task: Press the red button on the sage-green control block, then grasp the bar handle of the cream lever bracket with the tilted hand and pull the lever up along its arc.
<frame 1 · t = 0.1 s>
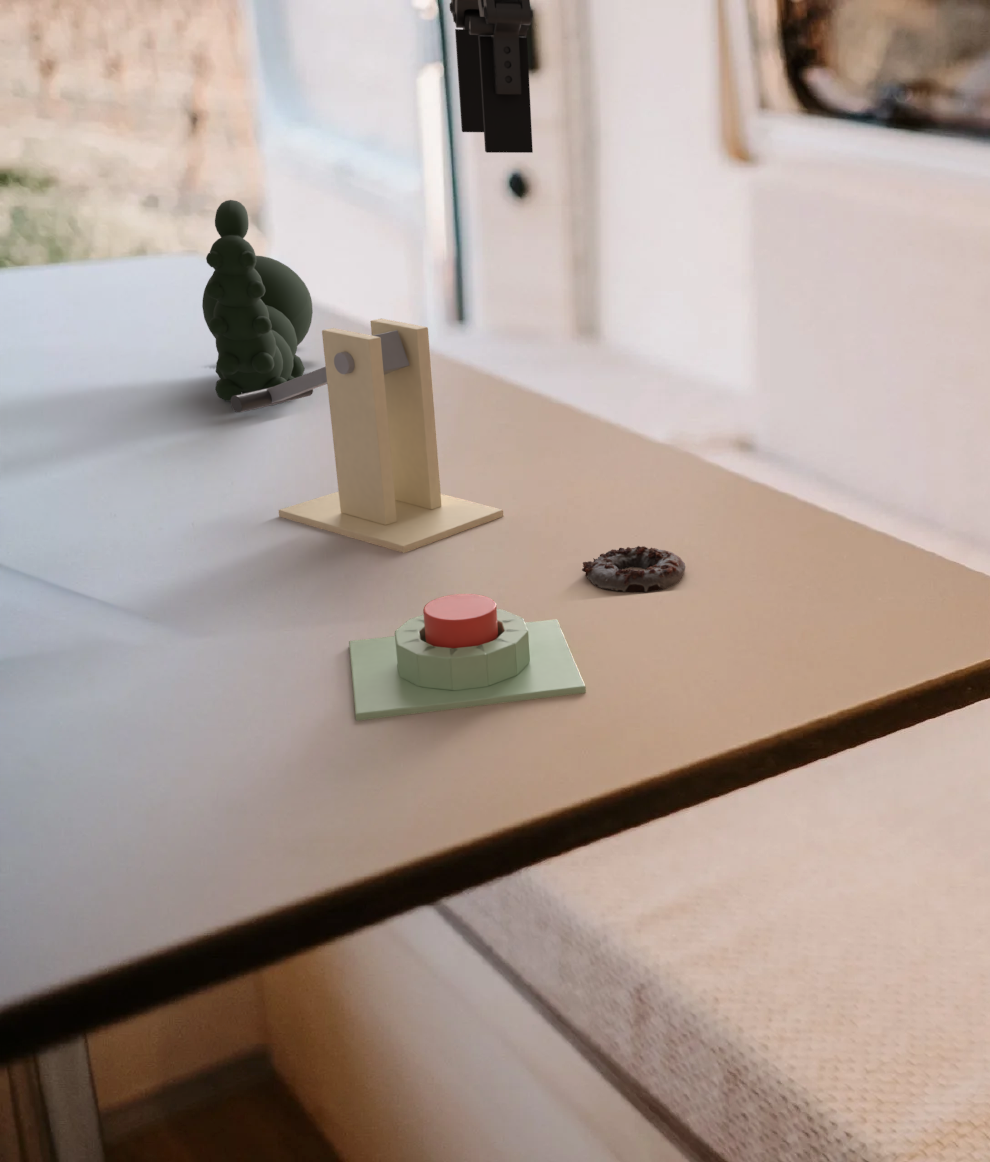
hand: (495, 142, 94), 26 cm above the table, tool pointing down, fingers open, 13 cm apart
lever: (326, 375, 99), point 10 cm above the table, hinge at -22.0°
bracket: (393, 527, 100), on the table
donut: (641, 591, 92), on the table
button: (461, 622, 75), point 4 cm above the table, slide at 0.1 cm
toy figurine: (262, 390, 134), on the table
button block: (466, 700, 76), on the table
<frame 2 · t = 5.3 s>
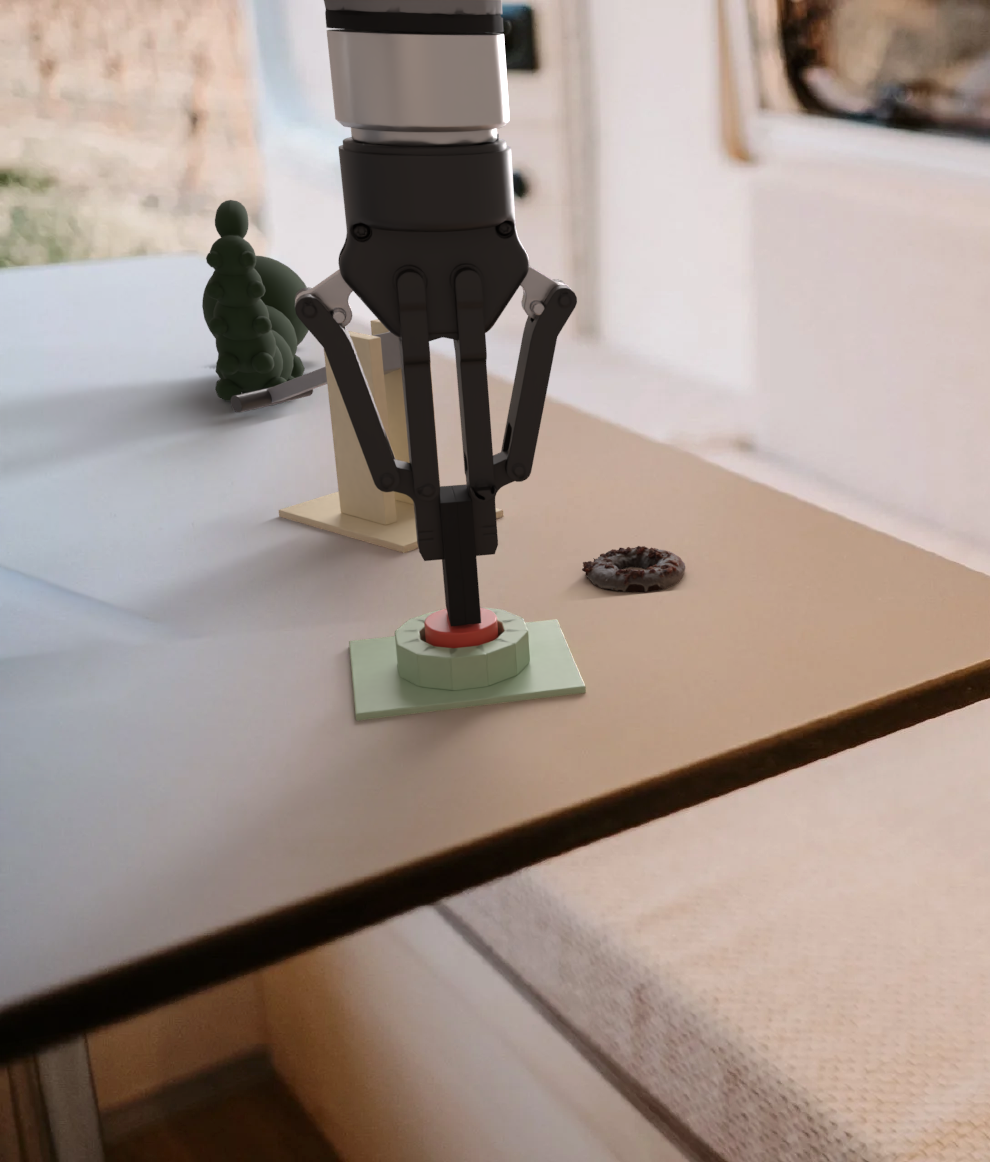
hand: (463, 614, 75), 5 cm above the table, tool pointing down, fingers closed
button: (462, 634, 75), point 4 cm above the table, slide at -0.6 cm, touching gripper
everything else where it was.
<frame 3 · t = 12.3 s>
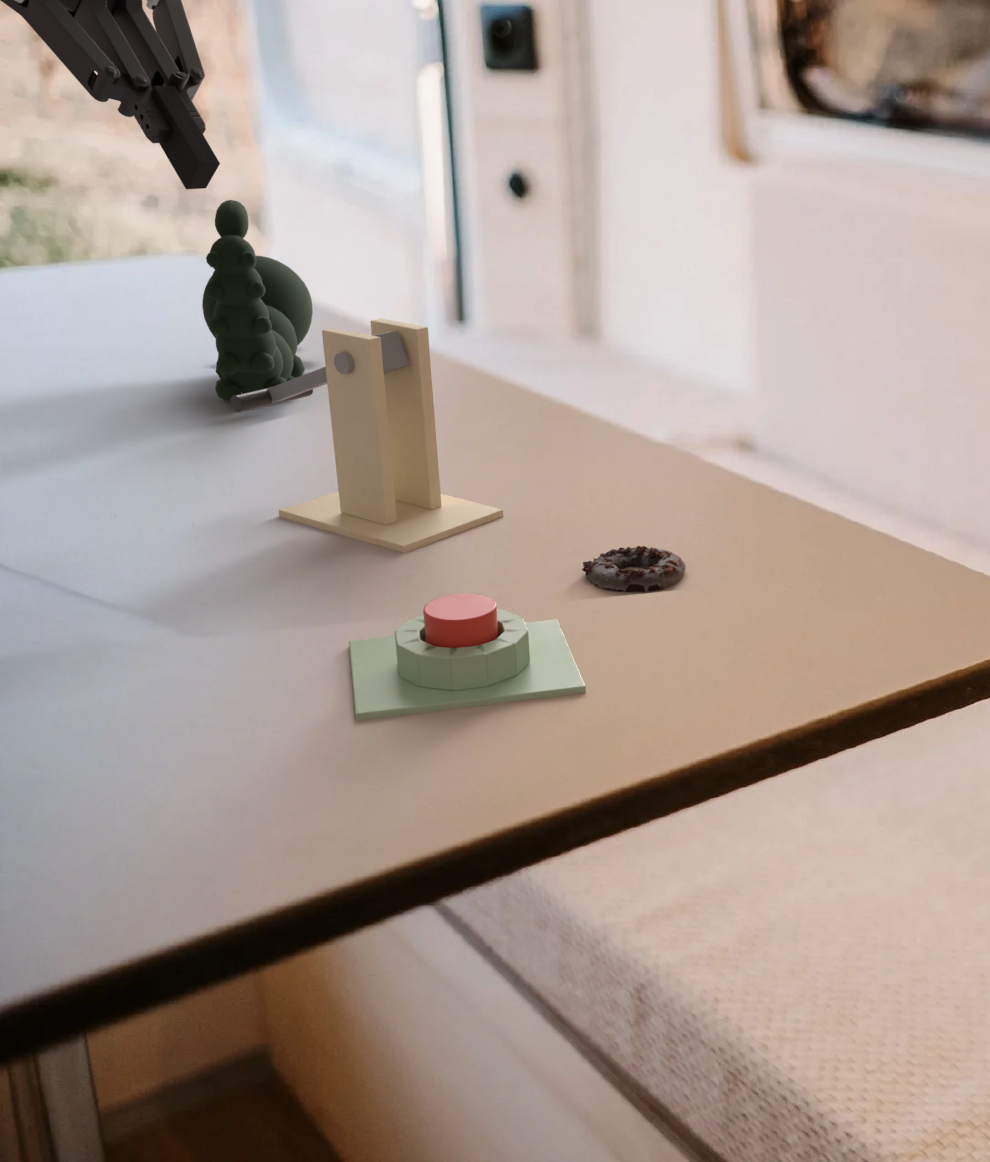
hand: (202, 176, 100), 22 cm above the table, tool tilted 45°, fingers closed
button: (461, 622, 75), point 4 cm above the table, slide at 0.1 cm
everything else where it was.
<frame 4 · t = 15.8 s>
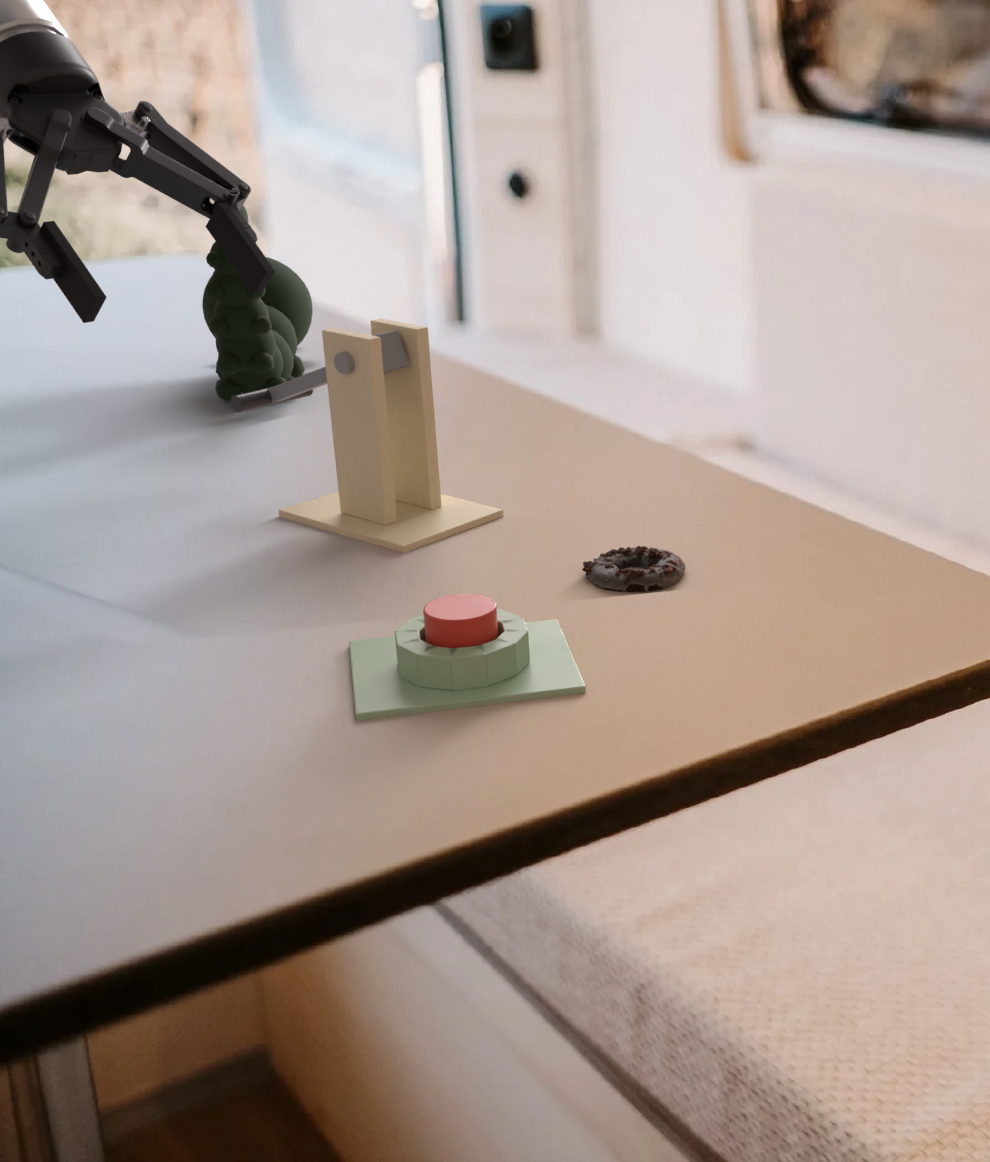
hand: (184, 296, 105), 13 cm above the table, tool tilted 45°, fingers open, 13 cm apart
nothing on the table moved.
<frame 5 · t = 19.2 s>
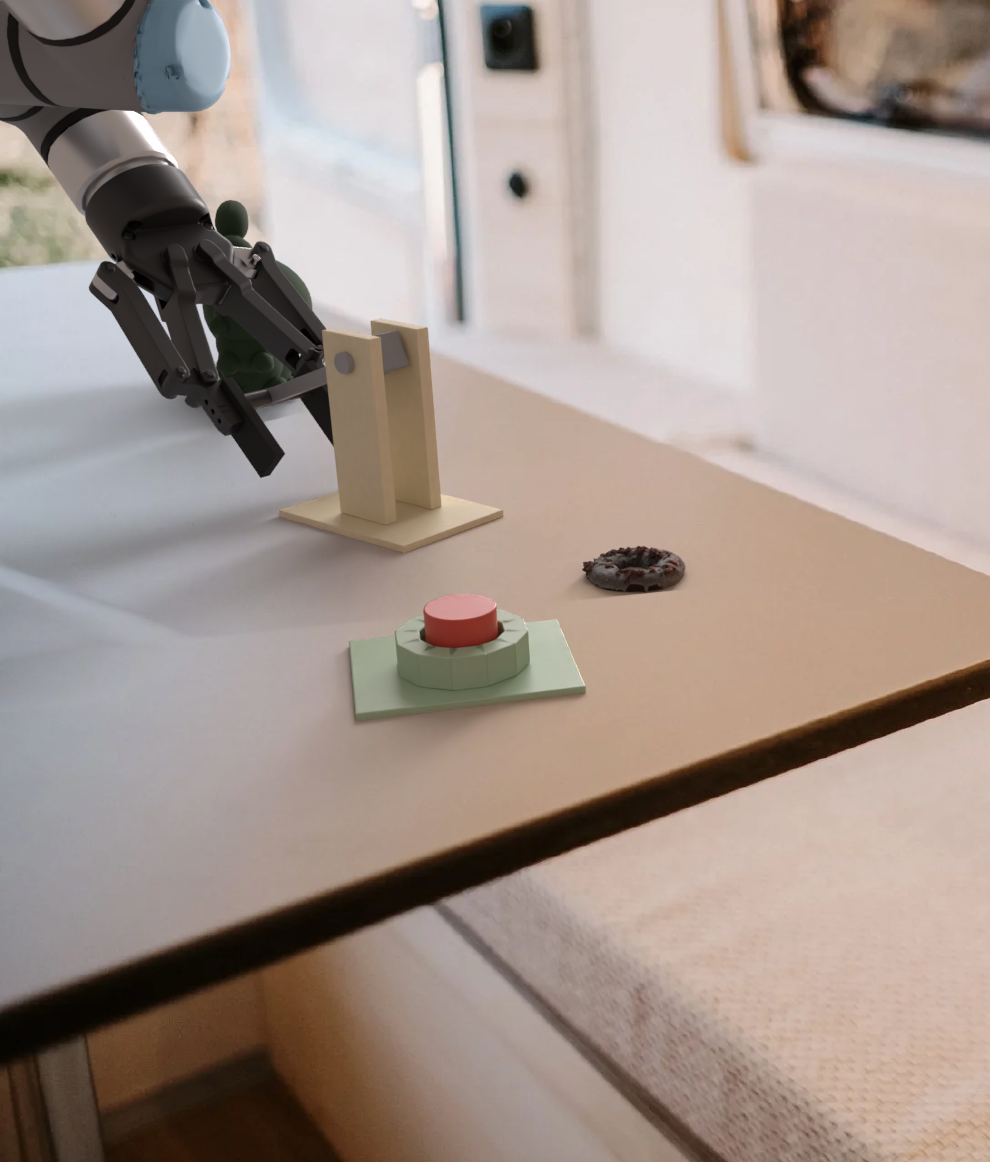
hand: (312, 454, 103), 4 cm above the table, tool tilted 45°, fingers closed on lever, 6 cm apart
lever: (326, 375, 99), point 10 cm above the table, hinge at -22.0°, touching gripper
everything else where it was.
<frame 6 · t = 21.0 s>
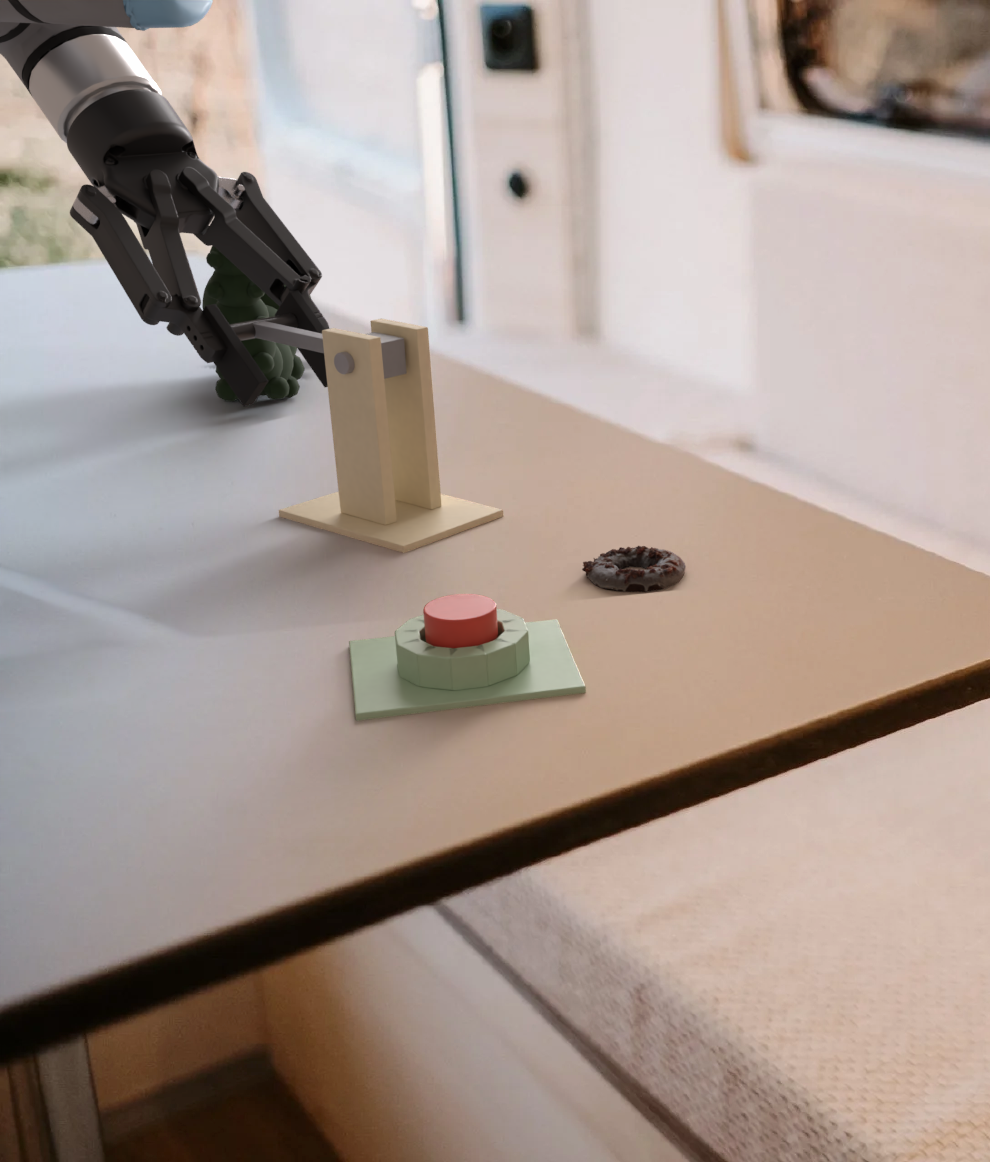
hand: (297, 384, 101), 9 cm above the table, tool tilted 45°, fingers closed on lever, 6 cm apart
lever: (319, 342, 99), point 12 cm above the table, hinge at 0.7°, touching gripper
everything else where it was.
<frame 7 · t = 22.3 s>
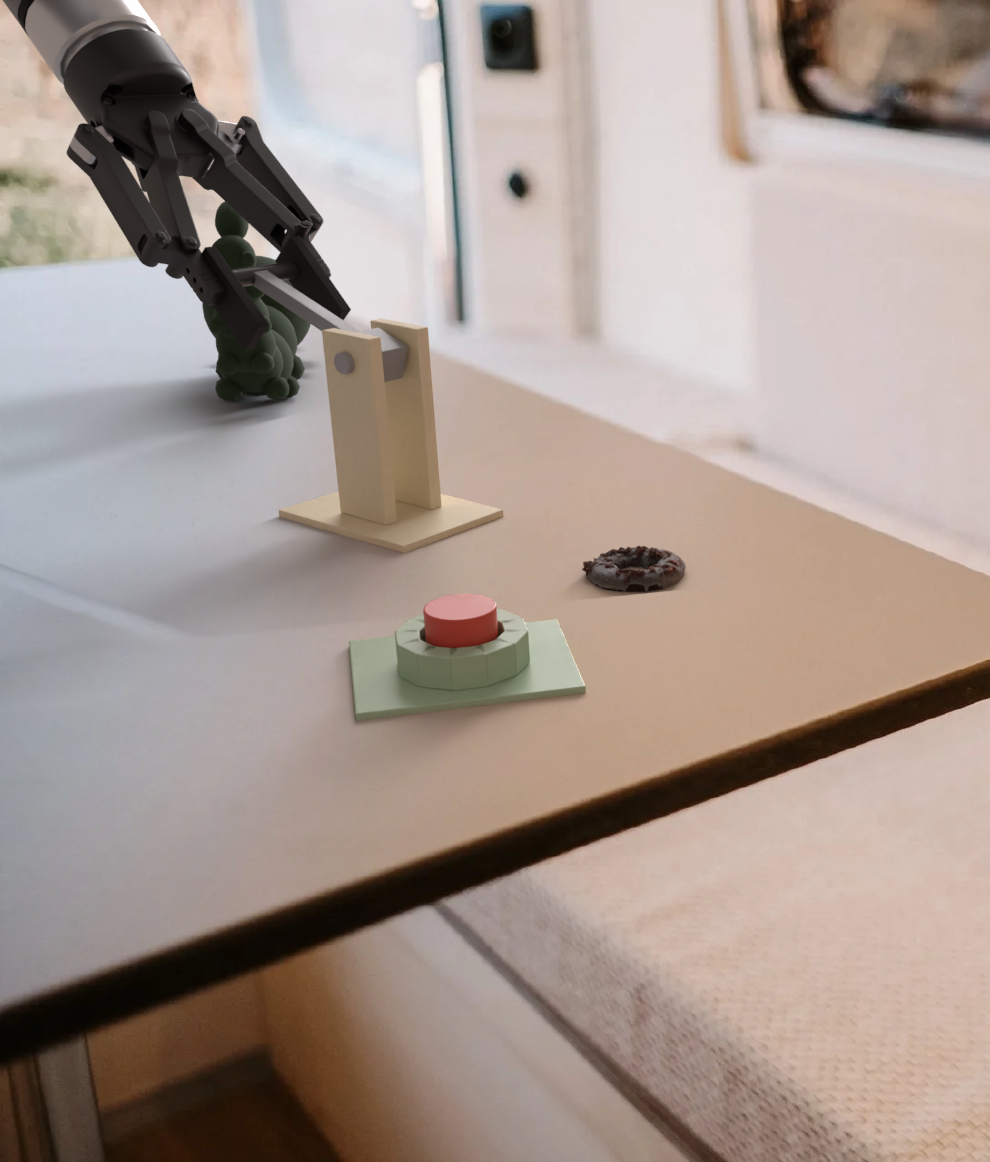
hand: (298, 329, 99), 13 cm above the table, tool tilted 45°, fingers closed on lever, 6 cm apart
lever: (319, 317, 98), point 14 cm above the table, hinge at 18.9°, touching gripper
everything else where it was.
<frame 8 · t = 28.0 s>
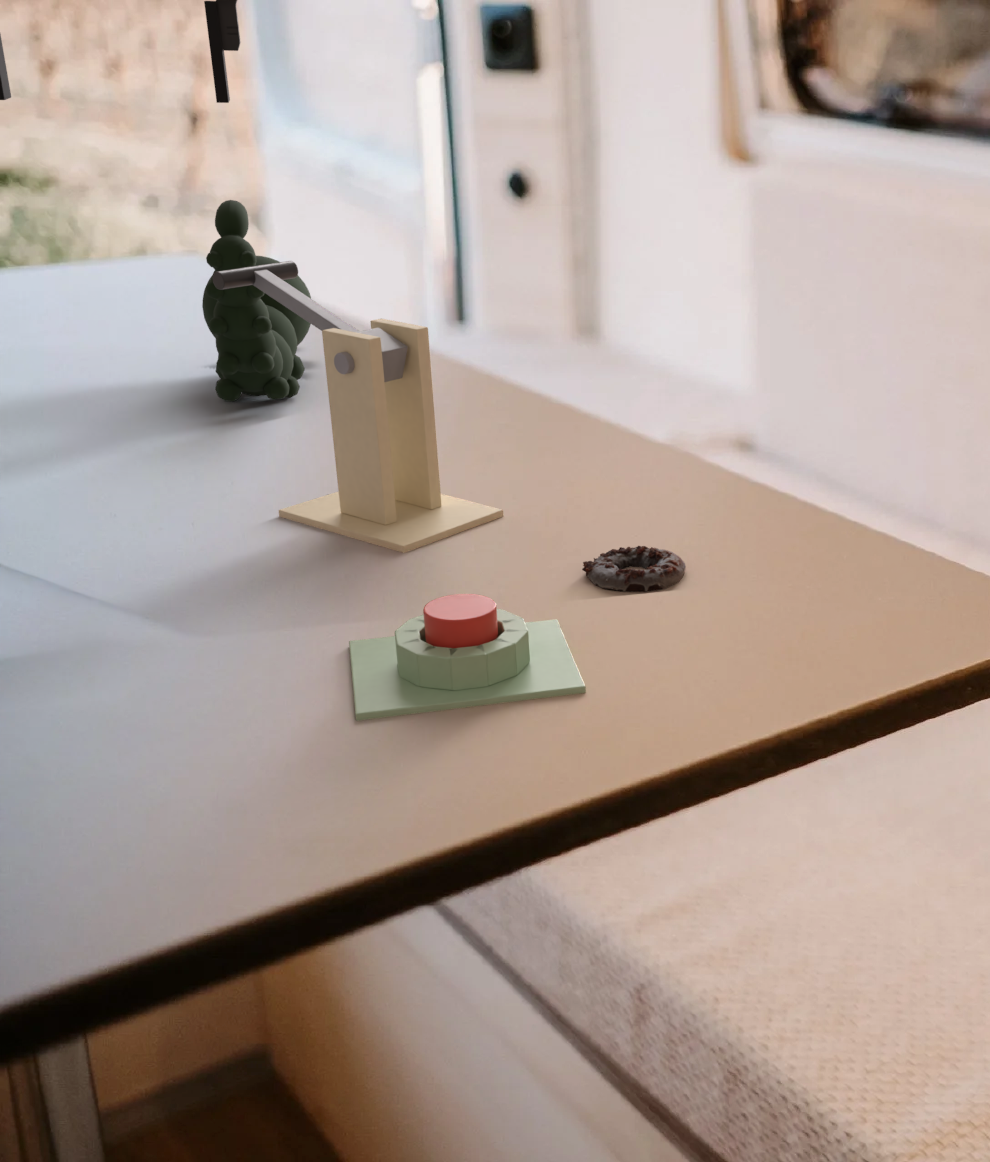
hand: (115, 100, 100), 27 cm above the table, tool pointing down, fingers open, 13 cm apart
lever: (319, 317, 98), point 14 cm above the table, hinge at 19.2°
everything else where it was.
at the end: button pushed in 1.0 cm at the most during the clip, back to where it started at the end; button slide at 0.1 cm; lever at +19° (first picture: -22°) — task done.
